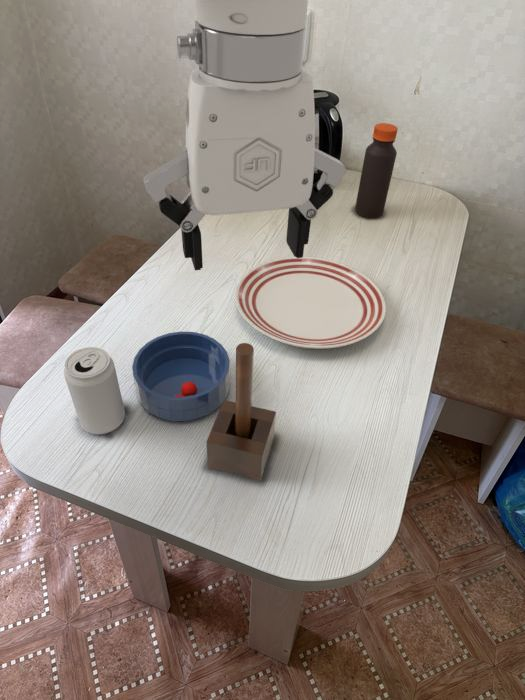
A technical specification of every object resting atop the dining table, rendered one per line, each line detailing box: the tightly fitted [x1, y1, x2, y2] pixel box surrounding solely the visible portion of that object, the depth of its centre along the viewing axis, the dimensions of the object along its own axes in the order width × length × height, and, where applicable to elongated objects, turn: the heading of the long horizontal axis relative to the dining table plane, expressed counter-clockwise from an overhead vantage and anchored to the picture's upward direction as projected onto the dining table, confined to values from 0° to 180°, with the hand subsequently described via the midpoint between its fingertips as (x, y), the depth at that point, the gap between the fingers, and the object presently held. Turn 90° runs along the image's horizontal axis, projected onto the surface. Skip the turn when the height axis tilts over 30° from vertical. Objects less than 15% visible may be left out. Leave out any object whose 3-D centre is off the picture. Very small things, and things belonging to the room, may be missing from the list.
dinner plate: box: [234, 256, 387, 350], centre depth 93 cm, size 27×27×3 cm
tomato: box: [181, 382, 197, 396], centre depth 76 cm, size 2×2×2 cm
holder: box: [206, 399, 277, 482], centre depth 68 cm, size 7×7×6 cm
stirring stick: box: [235, 342, 255, 439], centre depth 63 cm, size 2×2×20 cm
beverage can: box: [63, 346, 126, 435], centre depth 69 cm, size 6×6×12 cm
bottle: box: [354, 122, 399, 219], centre depth 115 cm, size 7×7×20 cm
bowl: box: [131, 331, 231, 422], centre depth 77 cm, size 14×14×6 cm
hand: (246, 256), depth 48 cm, fingers open, 9 cm apart
